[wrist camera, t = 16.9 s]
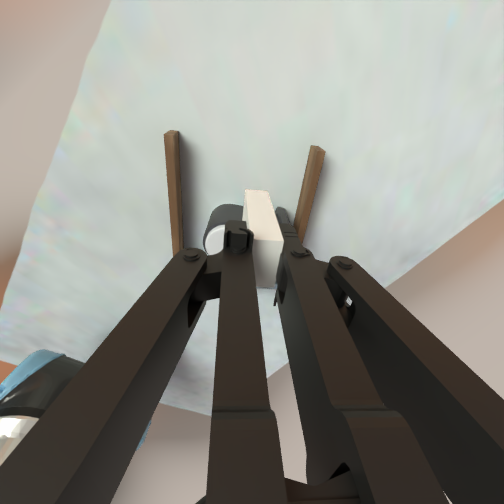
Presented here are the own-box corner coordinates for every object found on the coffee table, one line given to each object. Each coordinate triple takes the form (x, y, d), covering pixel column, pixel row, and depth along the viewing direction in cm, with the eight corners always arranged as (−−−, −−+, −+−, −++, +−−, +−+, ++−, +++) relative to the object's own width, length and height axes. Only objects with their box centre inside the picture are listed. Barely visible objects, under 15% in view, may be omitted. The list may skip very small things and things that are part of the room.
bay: (178, 268, 52) (173, 284, 48) (170, 130, 38) (162, 135, 34) (288, 274, 54) (292, 289, 50) (318, 146, 40) (327, 152, 36)
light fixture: (218, 185, 44) (210, 210, 34) (288, 207, 46) (298, 236, 37) (205, 237, 49) (194, 270, 40) (268, 255, 51) (271, 290, 42)
